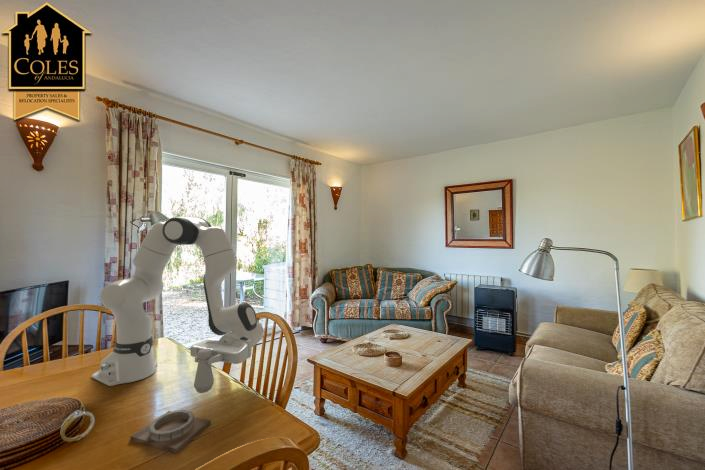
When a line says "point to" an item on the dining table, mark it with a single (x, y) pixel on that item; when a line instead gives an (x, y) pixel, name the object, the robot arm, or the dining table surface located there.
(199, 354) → the salt shaker
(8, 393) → the dining table surface
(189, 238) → the robot arm
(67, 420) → the bracelet
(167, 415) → the ring stand
